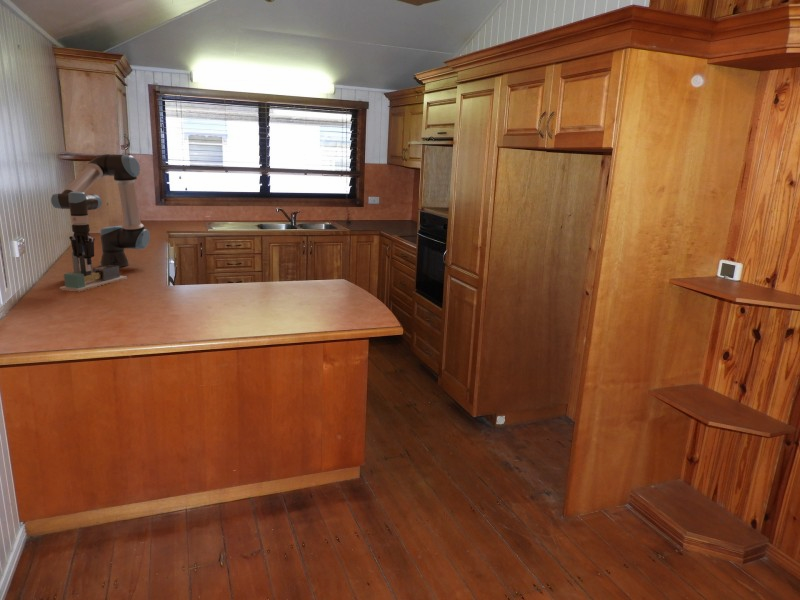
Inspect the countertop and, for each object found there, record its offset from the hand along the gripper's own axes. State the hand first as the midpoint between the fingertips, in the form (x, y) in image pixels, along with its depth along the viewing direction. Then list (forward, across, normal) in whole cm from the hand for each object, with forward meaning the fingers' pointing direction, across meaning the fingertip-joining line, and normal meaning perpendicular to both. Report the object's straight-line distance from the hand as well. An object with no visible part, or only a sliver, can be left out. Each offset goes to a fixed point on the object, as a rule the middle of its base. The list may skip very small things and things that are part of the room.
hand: (85, 270), depth 283 cm
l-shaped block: (+5, 0, +3) cm, 6 cm away
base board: (+8, 0, +5) cm, 10 cm away
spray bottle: (+8, -16, +14) cm, 23 cm away
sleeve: (+7, 0, +14) cm, 15 cm away
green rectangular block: (+7, 0, -7) cm, 10 cm away
